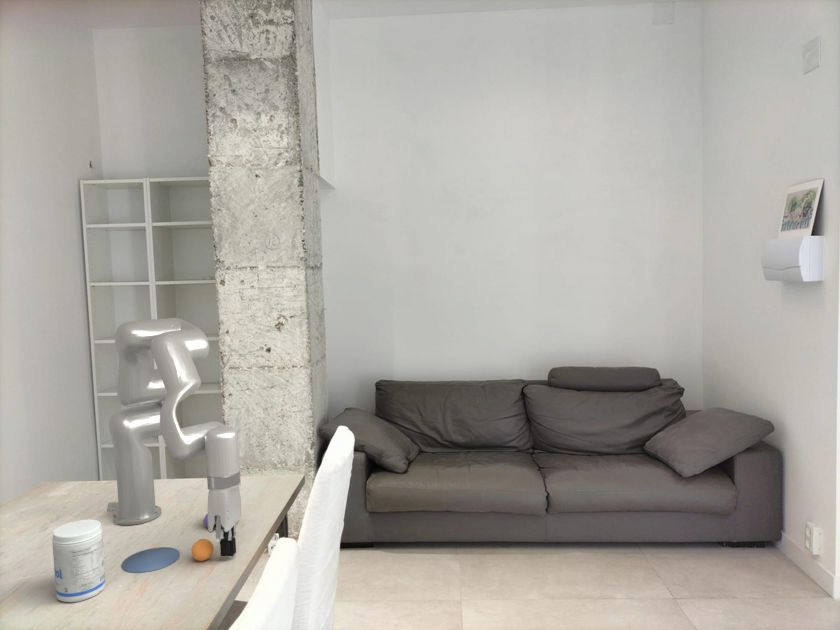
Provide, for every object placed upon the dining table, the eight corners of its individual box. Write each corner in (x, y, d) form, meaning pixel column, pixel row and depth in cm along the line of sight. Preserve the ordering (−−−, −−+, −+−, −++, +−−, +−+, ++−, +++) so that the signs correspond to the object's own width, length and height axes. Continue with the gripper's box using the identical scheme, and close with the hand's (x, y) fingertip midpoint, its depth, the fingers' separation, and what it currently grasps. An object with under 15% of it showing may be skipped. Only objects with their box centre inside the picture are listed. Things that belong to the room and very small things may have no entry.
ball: (188, 564, 148) (187, 544, 147) (197, 555, 153) (196, 535, 152) (208, 564, 147) (207, 544, 147) (217, 555, 152) (216, 535, 152)
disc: (110, 572, 145) (110, 571, 145) (139, 547, 158) (139, 547, 158) (163, 572, 144) (163, 572, 144) (189, 547, 157) (189, 547, 157)
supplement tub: (49, 595, 136) (44, 529, 135) (95, 577, 143) (90, 515, 142) (67, 609, 130) (61, 540, 129) (113, 590, 137) (109, 525, 136)
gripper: (220, 470, 156) (225, 541, 157) (195, 491, 141) (200, 569, 142) (250, 469, 155) (254, 541, 157) (227, 490, 140) (232, 569, 142)
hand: (228, 554), depth 149 cm, fingers closed
